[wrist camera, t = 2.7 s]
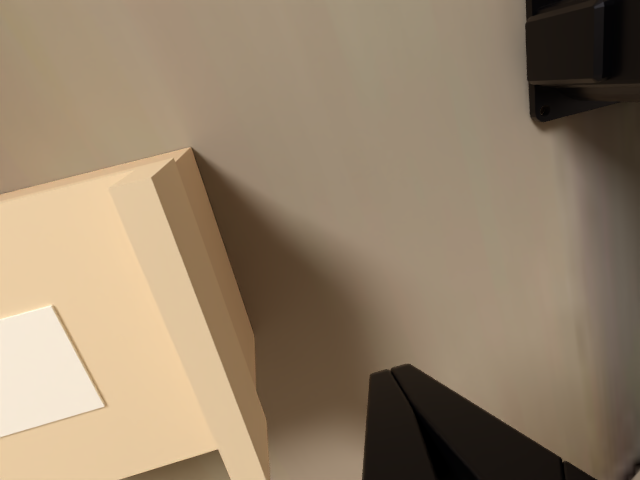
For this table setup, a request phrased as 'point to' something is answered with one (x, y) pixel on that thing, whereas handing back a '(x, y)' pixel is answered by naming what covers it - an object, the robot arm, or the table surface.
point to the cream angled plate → (117, 336)
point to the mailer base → (206, 227)
